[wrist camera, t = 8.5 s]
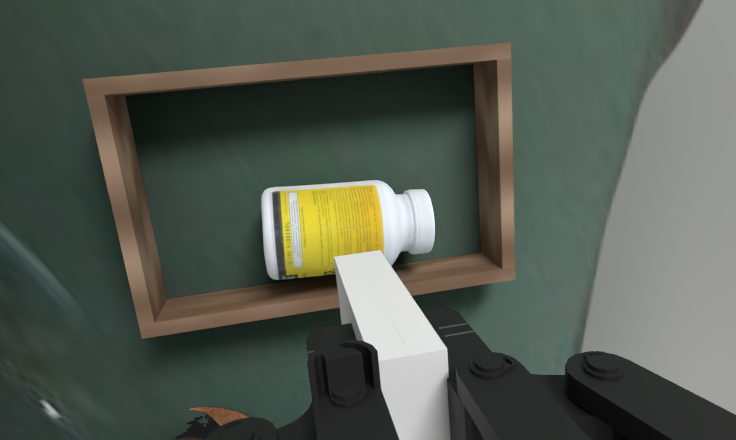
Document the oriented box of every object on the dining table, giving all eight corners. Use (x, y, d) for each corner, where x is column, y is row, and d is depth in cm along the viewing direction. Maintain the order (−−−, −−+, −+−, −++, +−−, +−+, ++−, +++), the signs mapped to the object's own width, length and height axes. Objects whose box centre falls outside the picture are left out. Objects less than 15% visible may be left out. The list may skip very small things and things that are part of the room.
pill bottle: (265, 284, 31) (443, 267, 33) (257, 182, 31) (434, 170, 33) (269, 277, 37) (418, 263, 39) (263, 192, 38) (411, 182, 39)
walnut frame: (106, 81, 33) (82, 79, 29) (485, 49, 37) (510, 42, 33) (156, 313, 38) (141, 338, 34) (492, 261, 41) (515, 279, 37)
